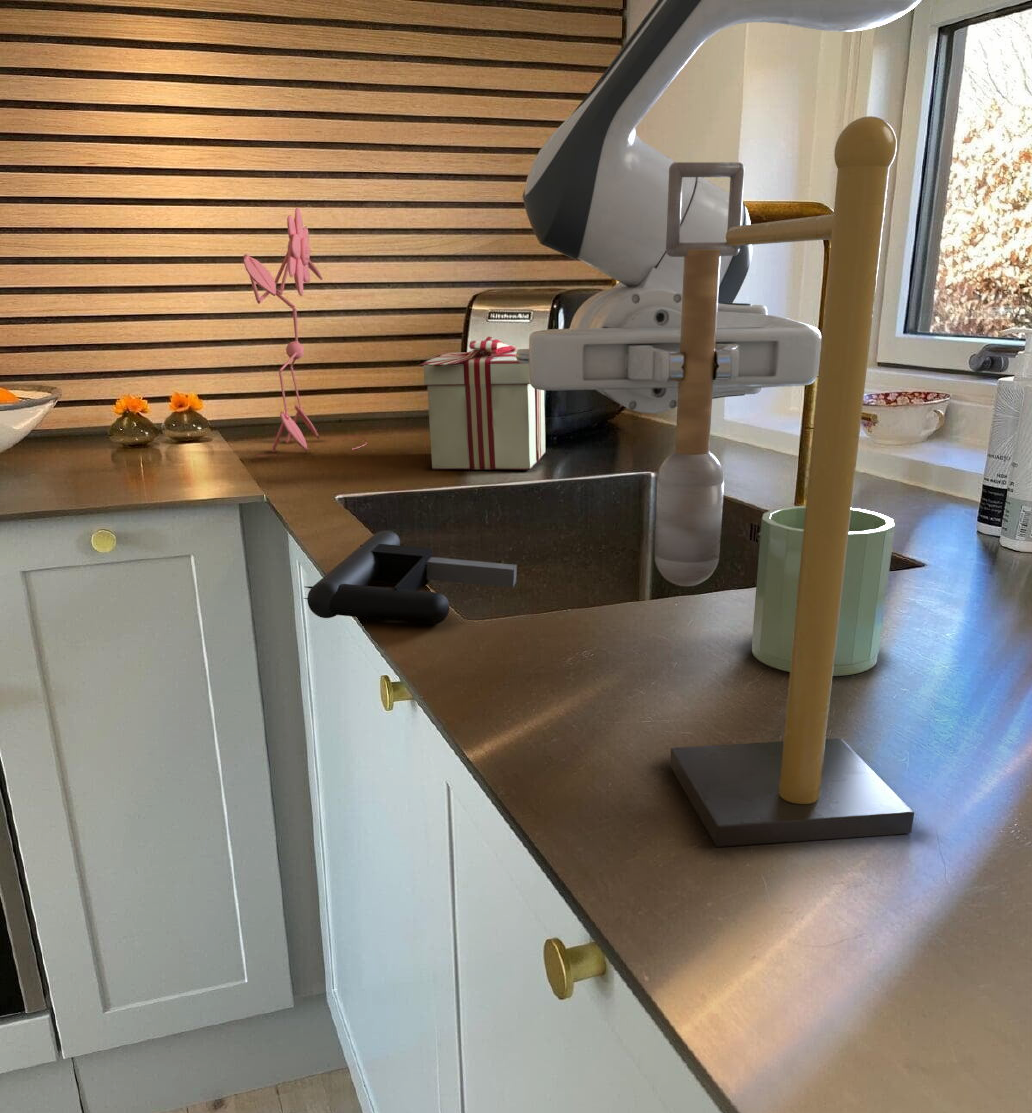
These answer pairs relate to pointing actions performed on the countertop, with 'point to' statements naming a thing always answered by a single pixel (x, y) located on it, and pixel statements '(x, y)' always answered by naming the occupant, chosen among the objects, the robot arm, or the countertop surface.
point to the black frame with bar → (398, 582)
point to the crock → (859, 589)
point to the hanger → (816, 552)
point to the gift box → (484, 410)
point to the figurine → (300, 270)
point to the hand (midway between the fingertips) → (700, 366)
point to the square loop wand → (694, 396)
